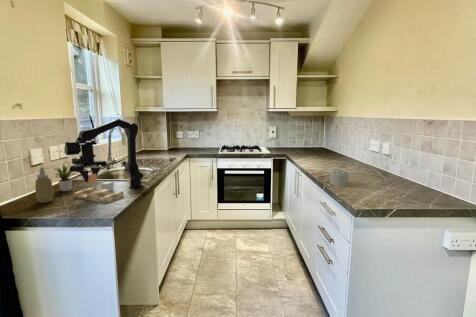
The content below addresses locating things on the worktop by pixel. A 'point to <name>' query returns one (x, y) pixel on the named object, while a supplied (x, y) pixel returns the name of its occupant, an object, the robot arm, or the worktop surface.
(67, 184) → the house plant
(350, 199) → the worktop surface
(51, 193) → the squeeze bottle
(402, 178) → the worktop surface
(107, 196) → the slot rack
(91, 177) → the terracotta block
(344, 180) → the lumpy-topped squat cylinder
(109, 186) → the blue-grey block
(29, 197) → the worktop surface
